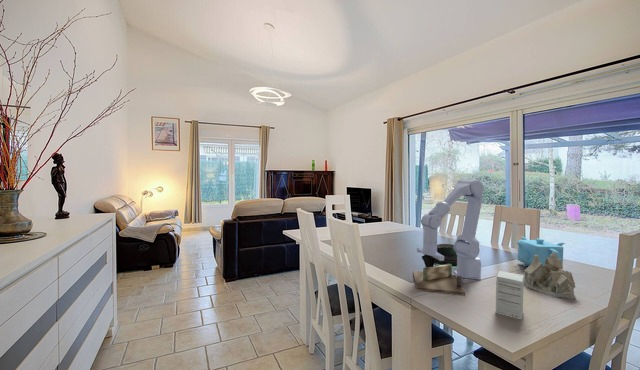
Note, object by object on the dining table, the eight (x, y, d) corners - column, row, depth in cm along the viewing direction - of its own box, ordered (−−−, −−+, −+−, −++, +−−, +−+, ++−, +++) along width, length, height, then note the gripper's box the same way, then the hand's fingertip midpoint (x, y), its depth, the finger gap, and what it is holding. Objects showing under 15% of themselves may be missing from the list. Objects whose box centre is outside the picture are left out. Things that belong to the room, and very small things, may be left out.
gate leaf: (449, 274, 128) (449, 263, 128) (452, 276, 126) (452, 265, 126) (421, 279, 122) (422, 267, 122) (425, 280, 120) (425, 269, 120)
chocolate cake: (451, 256, 162) (452, 240, 162) (477, 267, 143) (477, 249, 143) (420, 257, 159) (420, 241, 158) (441, 269, 139) (442, 250, 139)
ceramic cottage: (519, 278, 127) (523, 246, 125) (566, 287, 119) (570, 252, 118) (526, 294, 113) (530, 257, 111) (580, 304, 106) (585, 266, 104)
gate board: (455, 276, 129) (455, 265, 129) (465, 295, 109) (466, 282, 109) (413, 272, 133) (413, 262, 133) (416, 289, 114) (416, 277, 114)
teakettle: (560, 277, 129) (561, 245, 128) (511, 267, 143) (512, 238, 142) (564, 268, 142) (566, 239, 142) (519, 259, 156) (521, 233, 155)
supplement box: (497, 305, 101) (499, 270, 101) (523, 311, 97) (524, 275, 96) (494, 312, 96) (495, 275, 95) (521, 320, 91) (523, 281, 90)
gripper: (411, 238, 129) (410, 268, 130) (435, 246, 116) (434, 279, 116) (423, 237, 132) (423, 266, 132) (448, 245, 118) (447, 277, 119)
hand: (429, 272), depth 124 cm, fingers closed
